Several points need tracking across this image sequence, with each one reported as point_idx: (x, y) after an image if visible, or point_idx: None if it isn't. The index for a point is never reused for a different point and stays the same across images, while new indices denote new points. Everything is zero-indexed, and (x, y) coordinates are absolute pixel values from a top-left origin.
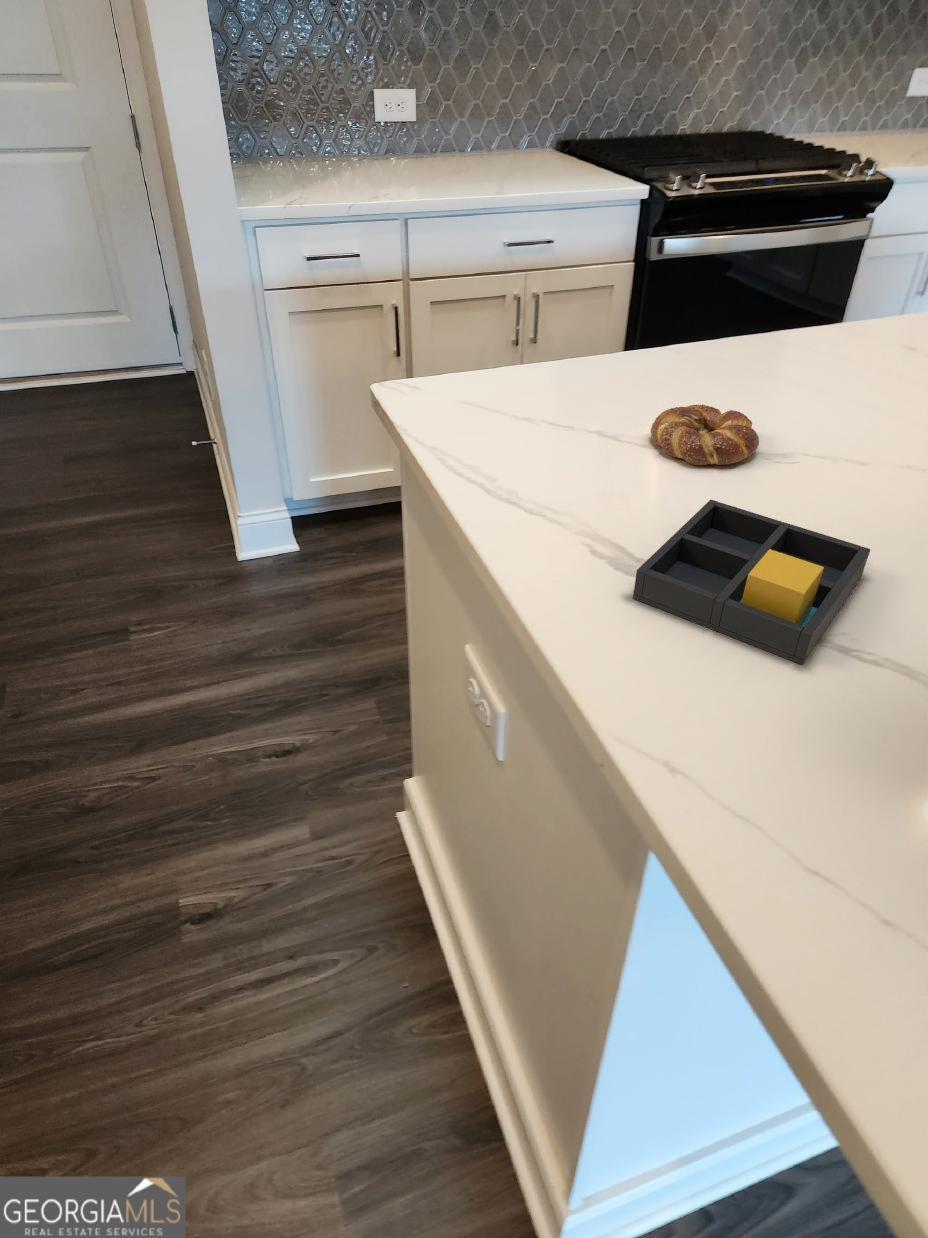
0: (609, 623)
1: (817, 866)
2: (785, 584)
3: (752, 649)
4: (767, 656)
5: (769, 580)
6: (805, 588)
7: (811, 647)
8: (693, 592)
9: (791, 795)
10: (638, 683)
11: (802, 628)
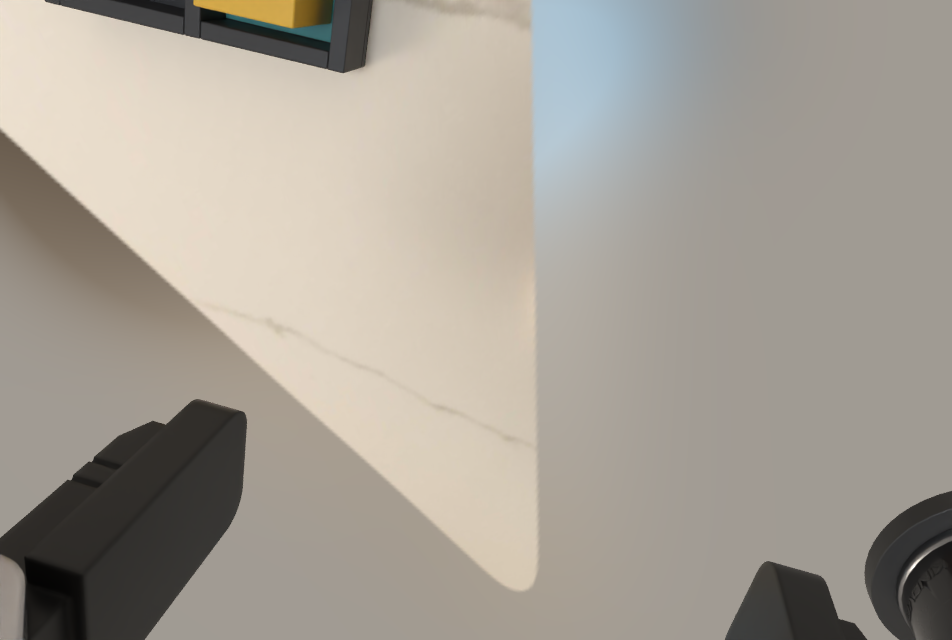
0: (92, 85)
1: (442, 400)
2: (257, 12)
3: None
4: None
5: (230, 12)
6: (290, 10)
7: (362, 37)
8: (148, 25)
9: (401, 320)
10: (186, 202)
11: (327, 59)
